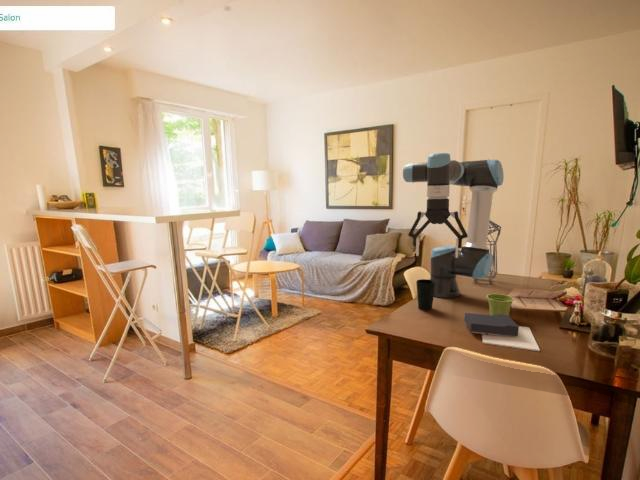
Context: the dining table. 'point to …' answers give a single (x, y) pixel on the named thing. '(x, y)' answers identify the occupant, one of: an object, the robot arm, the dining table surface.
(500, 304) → the plant pot
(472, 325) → the dark navy block
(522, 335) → the felt mat
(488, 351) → the dining table surface
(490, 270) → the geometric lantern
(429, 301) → the cup
